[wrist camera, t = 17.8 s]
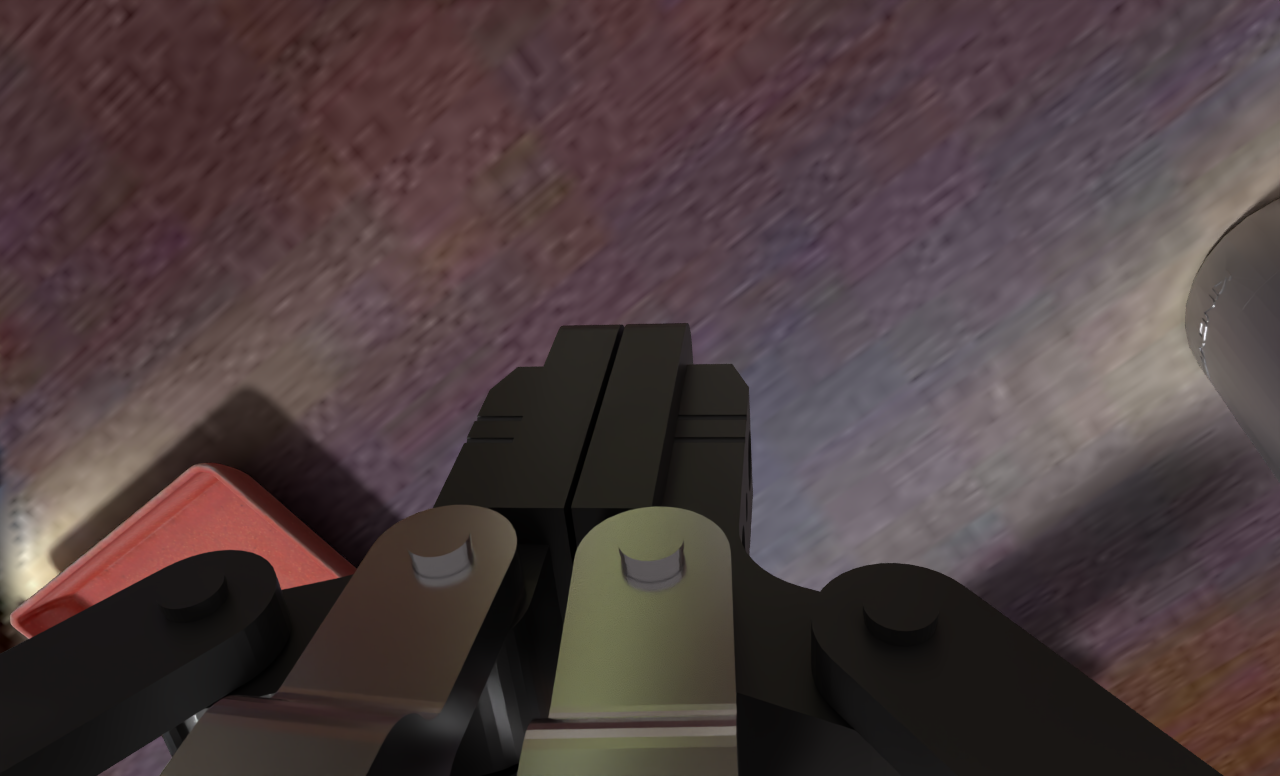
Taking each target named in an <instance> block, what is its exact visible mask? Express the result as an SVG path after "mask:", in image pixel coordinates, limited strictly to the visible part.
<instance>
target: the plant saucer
mask: <svg viewBox="0 0 1280 776" xmlns="http://www.w3.org/2000/svg"><path fill="white" fill-rule="evenodd" d="M219 550H242V551H247V552H252V553H255V554H257V555H260V556H262V557H263V558H265V559H266V560H268V561H269V563H270V564H271V565H272V566H273V568H274V570H275V573H276V575H277V578H278V581H279V584H280V587H281V590H283V589H288V588H293V587H297V586H302V585H307V584H312V583H316V582H321V581H326V580H331V579H336V578H340V577H344V576H348V575H352V574H354V573H355V571H356V570H357V569H356V568H355V567H354V566H353V565H352V564H351V563H349V562H348V561H347V560H346V559H345V558H344V557H343V556H341V555H340V554H339V553H338V552H337V551H336V550H334V549H333V548H332V547H331V546H330V545H329V544H327V543H326V542H325V541H324V540H323V539H322V538H320V537H319V536H318V535H317V534H316V533H315V532H313V531H312V530H311V529H310V528H309V527H308V526H307V525H305V524H304V523H303V522H302V521H301V520H300V519H299V518H298V517H296V516H295V515H294V514H293V513H292V512H291V511H290V510H288V509H287V508H286V507H285V506H284V505H283V504H282V503H280V502H279V501H278V500H277V499H276V498H275V497H274V496H272V495H271V494H270V493H269V492H268V491H267V490H265V489H264V488H263V487H262V486H261V485H260V484H258V483H257V482H256V481H255V480H254V479H253V478H251V477H250V476H249V475H248V474H246V473H244V472H242V471H240V470H238V469H235V468H232V467H229V466H226V465H223V464H217V463H200V464H195V465H193V466H191V467H190V468H189V469H188V470H186V471H185V472H184V473H183V474H181V475H180V476H179V477H178V478H176V479H175V480H174V481H173V482H172V483H170V484H169V485H168V486H167V487H166V488H164V489H163V490H162V491H161V492H159V493H158V494H157V495H156V496H155V497H153V498H152V499H151V500H150V501H148V502H147V503H146V504H145V505H144V506H143V507H141V508H140V509H139V510H137V511H136V512H135V513H134V514H133V515H131V516H130V517H129V518H128V519H127V520H125V521H124V522H123V523H122V524H120V525H119V526H118V527H117V528H116V529H114V530H113V531H112V532H111V533H110V534H108V535H107V536H106V537H105V538H103V539H102V540H101V541H99V542H98V543H97V544H96V545H95V546H93V547H92V548H91V549H90V550H88V551H87V552H86V553H85V554H83V555H82V556H81V557H80V558H78V559H77V560H76V561H75V562H74V563H72V564H71V565H70V566H68V567H67V568H66V569H65V570H64V571H63V572H61V573H60V574H59V575H58V576H56V577H55V578H54V579H53V580H51V581H50V582H49V583H48V584H47V585H45V586H44V587H43V588H41V589H40V590H39V591H38V592H37V593H35V594H34V595H33V596H31V597H30V598H29V599H27V600H26V601H25V602H24V603H23V604H22V605H20V606H19V607H18V608H16V609H15V610H14V611H13V612H12V613H11V614H10V617H11V618H10V621H11V625H12V626H13V627H14V628H16V629H17V630H18V631H19V632H21V633H22V634H23V635H25V636H26V637H27V638H29V639H30V638H32V637H34V636H36V635H37V634H39V633H41V632H43V631H45V630H47V629H49V628H51V627H53V626H55V625H56V624H58V623H60V622H62V621H64V620H66V619H68V618H70V617H72V616H74V615H75V614H77V613H79V612H81V611H83V610H85V609H87V608H89V607H91V606H93V605H94V604H96V603H98V602H100V601H102V600H104V599H106V598H108V597H110V596H112V595H113V594H115V593H117V592H119V591H121V590H123V589H125V588H127V587H129V586H131V585H132V584H134V583H136V582H138V581H140V580H142V579H144V578H146V577H148V576H150V575H151V574H153V573H155V572H157V571H159V570H161V569H163V568H165V567H167V566H169V565H171V564H173V563H175V562H178V561H180V560H183V559H186V558H188V557H191V556H195V555H198V554H202V553H207V552H212V551H219ZM161 736H162V735H161Z"/></svg>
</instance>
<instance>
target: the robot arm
mask: <svg viewBox="0 0 1280 776" xmlns="http://www.w3.org/2000/svg"><path fill="white" fill-rule="evenodd" d="M1185 329H1186V333H1187V338H1188V343H1189V347H1190V349H1191V351H1192V353H1193V355H1194V356H1195V358H1196V360H1197V362H1198V364H1199V366H1200V367H1201V369H1202V370H1203V371H1204V373H1205V375H1206V376H1207V378H1208V379H1209V380H1210V382H1211V383H1212V385H1213V386H1214V387H1215V389H1216V390H1217V392H1218V393H1219V395H1220V396H1221V398H1222V399H1223V401H1224V402H1225V404H1226V405H1227V406H1228V408H1229V409H1230V411H1231V412H1232V414H1233V416H1234V417H1235V419H1236V420H1237V422H1238V423H1239V425H1240V426H1241V428H1242V429H1243V430H1244V432H1245V433H1246V435H1247V436H1248V438H1249V439H1250V441H1251V442H1252V444H1253V445H1254V446H1255V448H1256V449H1257V451H1258V452H1259V454H1260V455H1261V457H1262V458H1263V459H1264V461H1265V462H1266V464H1267V465H1268V467H1269V468H1270V470H1271V471H1272V473H1273V474H1274V475H1275V477H1276V478H1277V480H1278V481H1279V483H1280V199H1278V200H1275V201H1273V202H1272V203H1270V204H1268V205H1267V206H1265V207H1263V208H1262V209H1260V210H1258V211H1257V212H1255V213H1253V214H1252V215H1250V216H1248V217H1247V218H1246V219H1244V220H1243V221H1242V222H1241V223H1240V224H1238V225H1237V226H1236V227H1235V228H1234V229H1232V230H1231V231H1230V232H1229V233H1228V234H1227V235H1225V236H1224V237H1223V239H1222V240H1221V241H1220V242H1219V243H1218V244H1217V246H1216V247H1215V248H1214V249H1213V250H1212V252H1211V253H1210V254H1209V255H1208V256H1207V258H1206V259H1205V261H1204V263H1203V264H1202V266H1201V268H1200V270H1199V272H1198V273H1197V275H1196V277H1195V279H1194V280H1193V283H1192V287H1191V290H1190V293H1189V296H1188V300H1187V303H1186V316H1185ZM477 417H478V420H477V421H475V422H474V424H473V426H472V428H471V430H470V432H469V434H468V437H467V443H464V445H463V447H462V449H461V451H460V453H459V455H458V457H457V459H456V461H455V463H454V466H453V468H452V470H451V472H450V474H449V476H448V478H447V480H446V482H445V484H444V486H443V488H442V490H441V492H440V495H439V497H438V499H437V501H436V503H435V505H434V507H433V508H432V509H428V510H425V511H422V512H418V513H416V514H414V515H411V516H409V517H407V518H405V519H403V520H401V521H400V522H398V523H396V524H395V525H393V526H392V527H390V528H389V529H388V530H386V531H385V532H384V533H383V534H382V535H381V536H380V537H379V538H378V539H377V540H376V542H375V543H374V544H373V545H372V547H371V548H370V550H369V551H368V553H367V555H366V556H365V558H364V559H363V561H362V562H361V564H360V565H359V567H358V568H357V570H356V571H355V573H354V574H352V575H348V576H344V577H340V578H336V579H331V580H326V581H321V582H316V583H312V584H307V585H302V586H297V587H293V588H288V589H283V590H281V587H280V584H279V581H278V578H277V575H276V573H275V570H274V568H273V566H272V565H271V564H270V563H269V561H268V560H266V559H265V558H263V557H262V556H260V555H257V554H255V553H252V552H247V551H242V550H219V551H212V552H207V553H202V554H198V555H195V556H191V557H188V558H186V559H183V560H180V561H178V562H175V563H173V564H171V565H169V566H167V567H165V568H163V569H161V570H159V571H157V572H155V573H153V574H151V575H150V576H148V577H146V578H144V579H142V580H140V581H138V582H136V583H134V584H132V585H131V586H129V587H127V588H125V589H123V590H121V591H119V592H117V593H115V594H113V595H112V596H110V597H108V598H106V599H104V600H102V601H100V602H98V603H96V604H94V605H93V606H91V607H89V608H87V609H85V610H83V611H81V612H79V613H77V614H75V615H74V616H72V617H70V618H68V619H66V620H64V621H62V622H60V623H58V624H56V625H55V626H53V627H51V628H49V629H47V630H45V631H43V632H41V633H39V634H37V635H36V636H34V637H32V638H30V639H28V640H26V641H24V642H22V643H20V644H18V645H17V646H15V647H13V648H11V649H9V650H7V651H5V652H3V653H1V654H0V776H97V775H98V774H100V773H102V772H103V771H105V770H107V769H108V768H110V767H111V766H113V765H115V764H116V763H118V762H119V761H121V760H123V759H124V758H126V757H127V756H129V755H131V754H132V753H134V752H136V751H137V750H139V749H140V748H142V747H144V746H145V745H147V744H148V743H150V742H152V741H153V740H155V739H156V738H158V737H160V736H161V735H162V737H163V739H164V741H165V743H166V745H167V748H168V750H169V752H170V754H171V756H172V758H171V760H170V761H169V762H168V764H167V765H166V767H165V768H164V769H163V771H162V772H161V774H160V775H159V776H1223V775H1222V774H1220V773H1219V772H1218V771H1216V770H1215V769H1214V768H1212V767H1211V766H1209V765H1208V764H1207V763H1205V762H1204V761H1203V760H1201V759H1200V758H1198V757H1197V756H1196V755H1194V754H1193V753H1192V752H1190V751H1189V750H1188V749H1186V748H1185V747H1183V746H1182V745H1181V744H1179V743H1178V742H1177V741H1175V740H1174V739H1173V738H1171V737H1170V736H1168V735H1167V734H1166V733H1164V732H1163V731H1162V730H1160V729H1159V728H1157V727H1156V726H1155V725H1153V724H1152V723H1151V722H1149V721H1148V720H1147V719H1145V718H1144V717H1142V716H1141V715H1140V714H1138V713H1137V712H1136V711H1134V710H1133V709H1131V708H1130V707H1129V706H1127V705H1126V704H1125V703H1123V702H1122V701H1121V700H1119V699H1118V698H1116V697H1115V696H1114V695H1112V694H1111V693H1110V692H1108V691H1107V690H1106V689H1104V688H1103V687H1101V686H1100V685H1099V684H1097V683H1096V682H1095V681H1093V680H1092V679H1090V678H1089V677H1088V676H1086V675H1085V674H1084V673H1082V672H1081V671H1080V670H1078V669H1077V668H1075V667H1074V666H1073V665H1071V664H1070V663H1069V662H1067V661H1066V660H1064V659H1063V658H1062V657H1060V656H1059V655H1058V654H1056V653H1055V652H1054V651H1052V650H1051V649H1049V648H1048V647H1047V646H1045V645H1044V644H1043V643H1041V642H1040V641H1039V640H1037V639H1036V638H1034V637H1033V636H1032V635H1030V634H1029V633H1028V632H1026V631H1025V630H1023V629H1022V628H1021V627H1019V626H1018V625H1017V624H1015V623H1014V622H1013V621H1011V620H1010V619H1008V618H1007V617H1006V616H1004V615H1003V614H1002V613H1000V612H999V611H997V610H996V609H995V608H993V607H992V606H991V605H989V604H988V603H987V602H985V601H984V600H982V599H981V598H980V597H978V596H977V595H976V594H974V593H973V592H972V591H970V590H969V589H967V588H966V587H965V586H963V585H962V584H960V583H958V582H957V581H955V580H954V579H952V578H950V577H948V576H946V575H944V574H942V573H939V572H937V571H934V570H930V569H927V568H924V567H919V566H915V565H909V564H899V563H880V564H873V565H866V566H863V567H859V568H855V569H852V570H850V571H847V572H845V573H843V574H841V575H839V576H838V577H836V578H834V579H833V580H831V581H830V582H829V583H828V584H827V585H826V586H825V587H824V588H823V589H822V590H821V592H819V591H815V590H812V589H808V588H804V587H800V586H797V585H794V584H791V583H788V582H786V581H783V580H781V579H779V578H777V577H775V576H773V575H771V574H770V573H768V572H767V571H765V570H763V569H762V568H761V567H760V566H759V565H758V564H756V563H755V562H754V561H753V560H752V558H751V557H750V556H749V548H750V536H751V518H752V500H753V486H752V460H751V433H750V407H749V387H748V386H747V384H746V383H745V381H744V380H743V379H742V377H741V376H740V374H739V373H738V372H737V370H736V369H735V367H734V366H733V365H732V364H696V365H693V354H692V341H691V332H690V327H689V324H688V323H672V324H627V325H626V326H625V327H624V326H623V325H574V326H561V327H560V329H559V331H558V333H557V335H556V338H555V340H554V343H553V345H552V347H551V350H550V352H549V355H548V357H547V360H546V362H545V364H544V367H517V368H516V369H515V370H514V371H512V372H511V373H510V374H509V375H508V376H506V377H505V378H504V379H503V380H501V381H500V382H499V383H498V384H497V385H495V386H494V387H493V388H492V389H491V390H490V391H489V393H488V395H487V397H486V399H485V401H484V403H483V405H482V408H481V410H480V412H479V414H478V416H477Z"/></svg>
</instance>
